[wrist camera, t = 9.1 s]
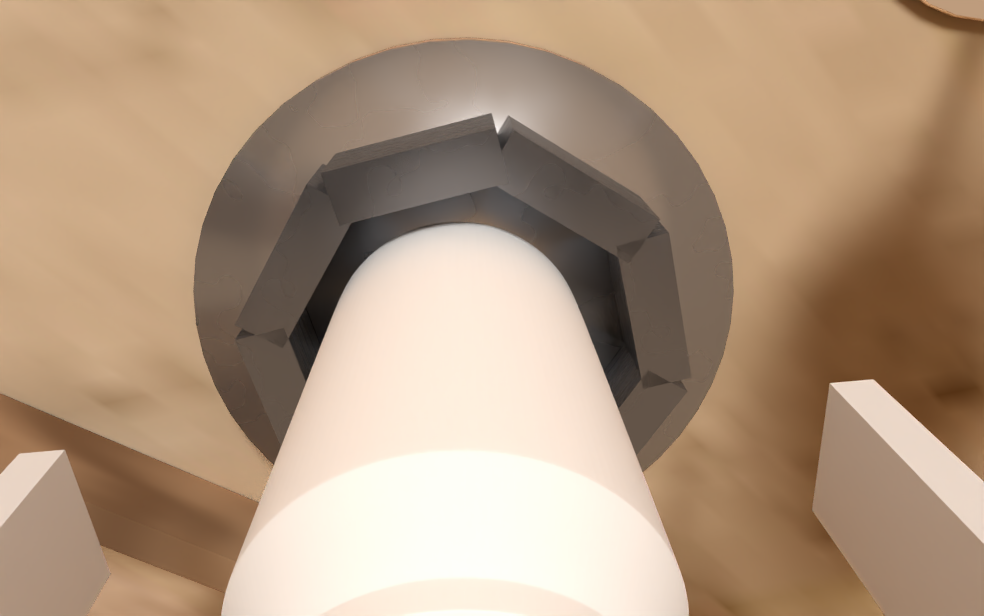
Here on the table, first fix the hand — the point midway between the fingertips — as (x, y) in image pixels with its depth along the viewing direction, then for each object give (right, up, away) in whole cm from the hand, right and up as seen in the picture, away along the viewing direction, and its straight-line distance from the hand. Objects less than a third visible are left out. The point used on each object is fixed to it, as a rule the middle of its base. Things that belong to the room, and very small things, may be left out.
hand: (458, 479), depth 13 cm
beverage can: (0, +3, +6) cm, 7 cm away
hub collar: (0, +3, +7) cm, 8 cm away
